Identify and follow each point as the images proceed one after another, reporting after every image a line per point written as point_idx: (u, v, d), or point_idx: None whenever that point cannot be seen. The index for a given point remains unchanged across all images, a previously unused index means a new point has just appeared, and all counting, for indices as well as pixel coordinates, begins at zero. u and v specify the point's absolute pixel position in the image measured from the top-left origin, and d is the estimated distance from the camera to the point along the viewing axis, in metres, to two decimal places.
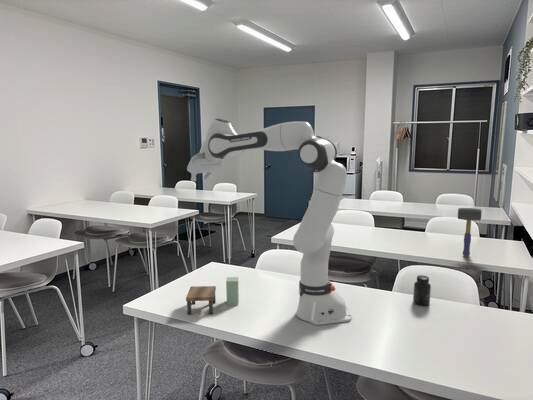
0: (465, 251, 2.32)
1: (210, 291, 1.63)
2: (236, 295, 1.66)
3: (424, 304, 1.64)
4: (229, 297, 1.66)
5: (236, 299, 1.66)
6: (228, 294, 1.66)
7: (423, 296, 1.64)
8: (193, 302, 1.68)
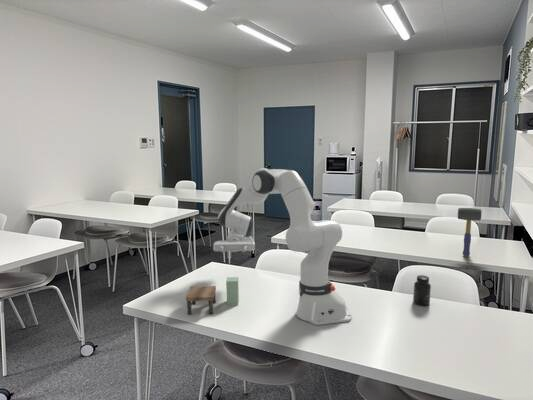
0: (465, 251, 2.32)
1: (210, 291, 1.63)
2: (236, 295, 1.66)
3: (424, 304, 1.64)
4: (229, 297, 1.66)
5: (236, 299, 1.66)
6: (228, 294, 1.66)
7: (423, 296, 1.64)
8: (193, 302, 1.68)
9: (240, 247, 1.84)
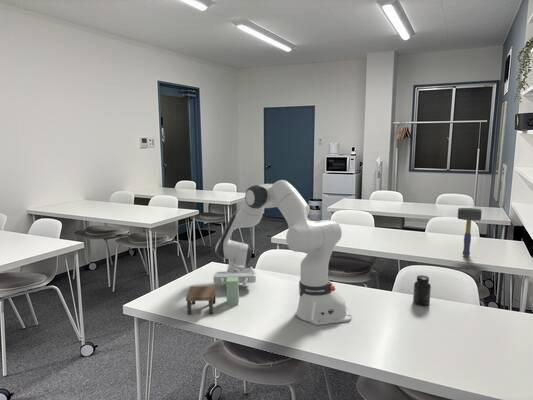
0: (465, 251, 2.32)
1: (210, 291, 1.63)
2: (236, 295, 1.66)
3: (424, 304, 1.64)
4: (229, 297, 1.66)
5: (236, 299, 1.66)
6: (228, 294, 1.66)
7: (423, 296, 1.64)
8: (193, 302, 1.68)
9: (240, 279, 1.82)
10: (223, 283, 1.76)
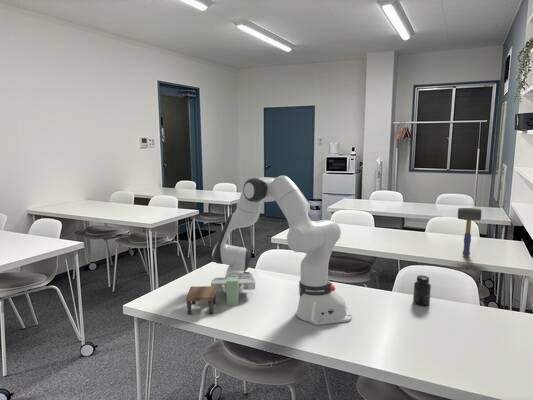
0: (465, 251, 2.32)
1: (210, 291, 1.63)
2: (236, 295, 1.66)
3: (424, 304, 1.64)
4: (229, 297, 1.66)
5: (236, 299, 1.66)
6: (228, 294, 1.66)
7: (423, 296, 1.64)
8: (193, 302, 1.68)
9: (239, 285, 1.73)
10: (224, 290, 1.67)
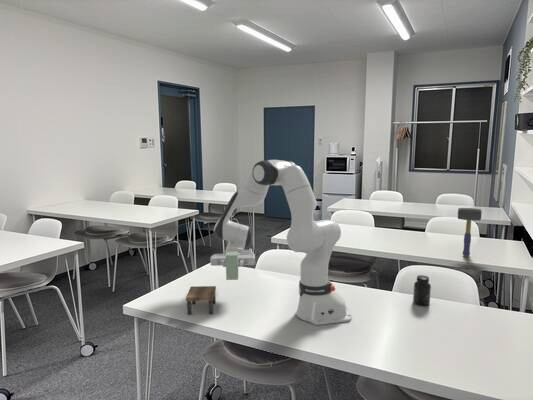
0: (465, 251, 2.32)
1: (210, 291, 1.63)
2: (236, 269, 1.64)
3: (424, 304, 1.64)
4: (229, 272, 1.64)
5: (236, 274, 1.65)
6: (227, 268, 1.64)
7: (423, 296, 1.64)
8: (193, 302, 1.68)
9: (239, 261, 1.71)
10: (224, 265, 1.66)
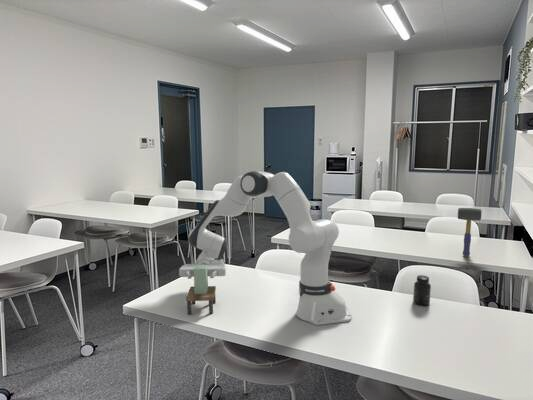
0: (465, 251, 2.32)
1: (210, 291, 1.63)
2: (204, 283, 1.60)
3: (424, 304, 1.64)
4: (197, 286, 1.60)
5: (204, 288, 1.60)
6: (196, 282, 1.60)
7: (423, 296, 1.64)
8: (193, 302, 1.68)
9: (208, 272, 1.66)
10: (189, 276, 1.61)
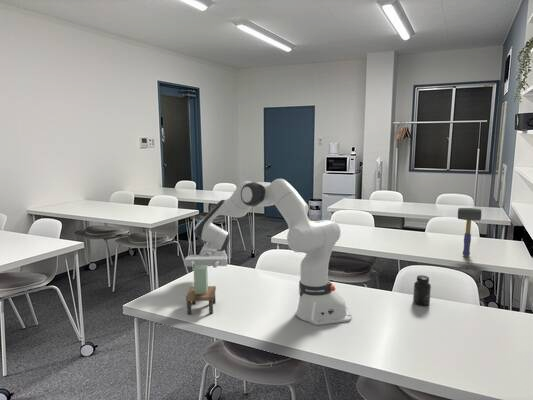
0: (465, 251, 2.32)
1: (210, 291, 1.63)
2: (204, 283, 1.60)
3: (424, 304, 1.64)
4: (197, 286, 1.60)
5: (204, 288, 1.60)
6: (196, 282, 1.60)
7: (423, 296, 1.64)
8: (193, 302, 1.68)
9: (211, 262, 1.79)
10: (193, 266, 1.74)
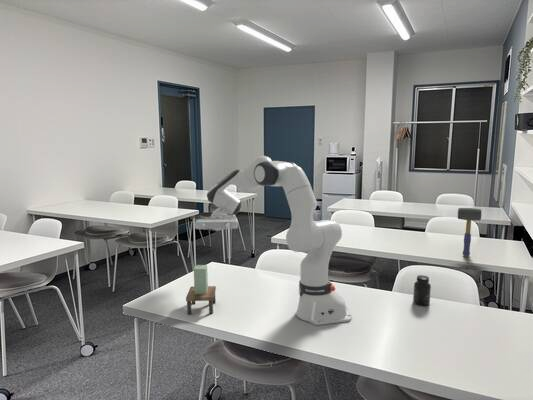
0: (465, 251, 2.32)
1: (210, 291, 1.63)
2: (204, 283, 1.60)
3: (424, 304, 1.64)
4: (197, 286, 1.60)
5: (204, 288, 1.60)
6: (196, 282, 1.60)
7: (423, 296, 1.64)
8: (193, 302, 1.68)
9: (222, 224, 1.79)
10: (204, 227, 1.74)
